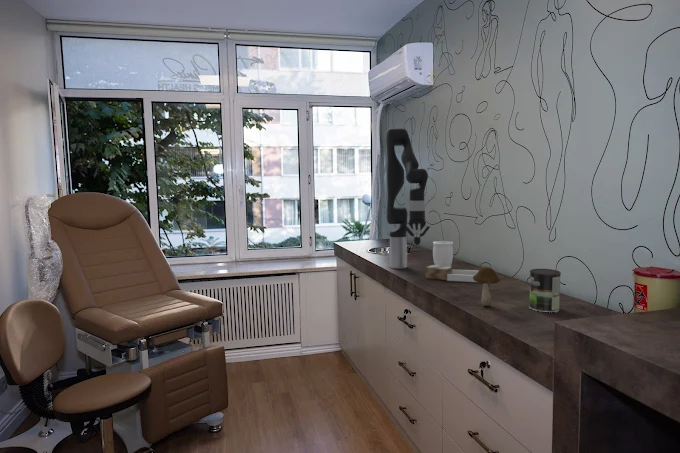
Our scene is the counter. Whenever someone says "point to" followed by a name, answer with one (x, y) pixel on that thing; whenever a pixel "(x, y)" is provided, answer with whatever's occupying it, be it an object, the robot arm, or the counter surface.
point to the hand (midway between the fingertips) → (417, 244)
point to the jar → (443, 253)
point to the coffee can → (544, 290)
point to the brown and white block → (438, 272)
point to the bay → (462, 275)
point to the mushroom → (486, 283)
